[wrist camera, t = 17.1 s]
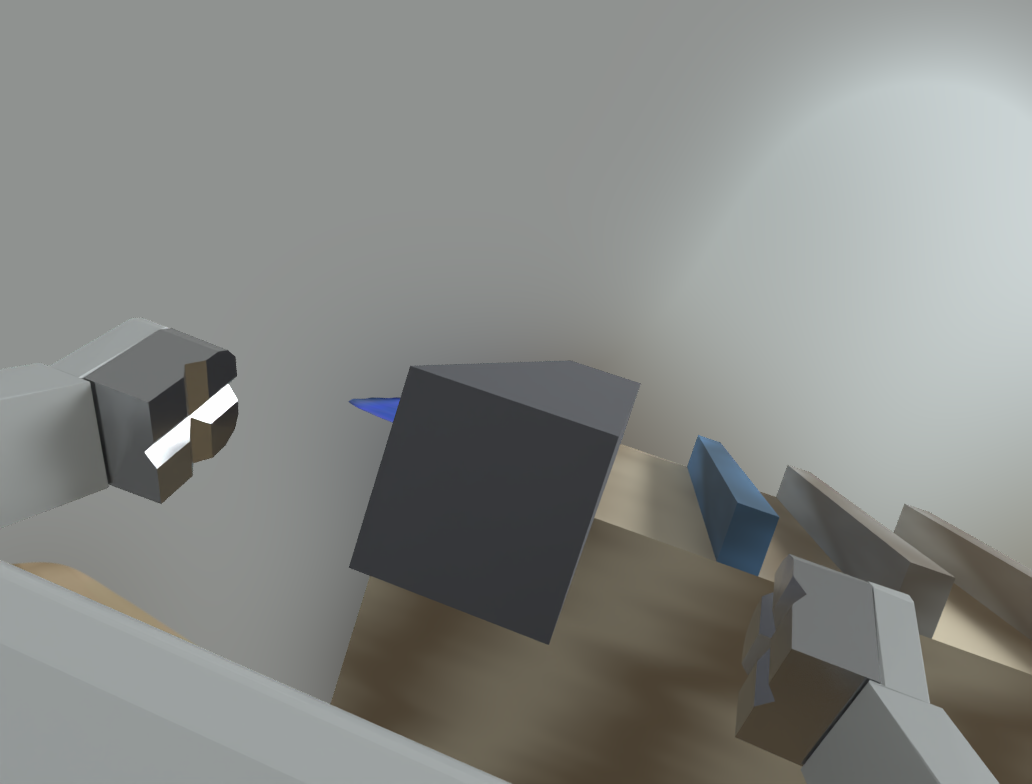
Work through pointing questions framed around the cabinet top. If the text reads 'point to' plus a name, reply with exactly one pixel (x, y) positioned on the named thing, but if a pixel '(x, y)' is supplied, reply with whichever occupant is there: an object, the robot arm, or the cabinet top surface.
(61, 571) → the cabinet top surface
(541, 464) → the dark grey piece
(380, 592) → the riser
